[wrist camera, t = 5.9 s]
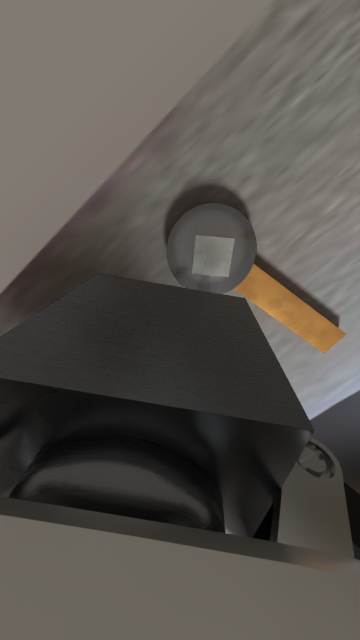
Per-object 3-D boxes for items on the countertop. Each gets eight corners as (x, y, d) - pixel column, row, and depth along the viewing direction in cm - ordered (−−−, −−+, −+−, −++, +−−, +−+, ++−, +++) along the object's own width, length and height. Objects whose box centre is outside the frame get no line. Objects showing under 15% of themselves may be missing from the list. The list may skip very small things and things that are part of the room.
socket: (244, 298, 10) (348, 495, 3) (213, 406, 12) (231, 639, 6) (98, 273, 10) (-125, 416, 3) (98, 387, 12) (-20, 599, 6)
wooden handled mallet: (358, 309, 27) (390, 327, 23) (300, 362, 30) (317, 386, 26) (201, 184, 23) (202, 176, 19) (153, 260, 26) (144, 268, 22)
